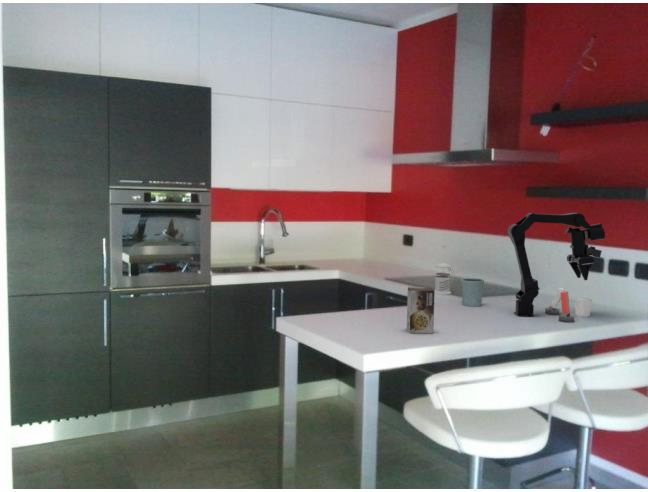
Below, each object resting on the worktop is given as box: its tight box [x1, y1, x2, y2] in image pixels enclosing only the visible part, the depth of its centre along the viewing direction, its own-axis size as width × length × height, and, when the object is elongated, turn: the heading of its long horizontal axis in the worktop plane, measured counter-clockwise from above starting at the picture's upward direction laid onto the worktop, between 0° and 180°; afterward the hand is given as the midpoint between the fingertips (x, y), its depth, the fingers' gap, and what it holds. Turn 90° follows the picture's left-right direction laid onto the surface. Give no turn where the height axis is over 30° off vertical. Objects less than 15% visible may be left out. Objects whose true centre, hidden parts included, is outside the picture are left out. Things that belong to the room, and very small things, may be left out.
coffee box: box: [406, 286, 435, 334], centre depth 222 cm, size 9×6×16 cm
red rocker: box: [560, 291, 571, 315], centre depth 248 cm, size 2×5×10 cm, turn 144°
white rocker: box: [550, 287, 566, 309], centre depth 261 cm, size 2×5×10 cm, turn 144°
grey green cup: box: [460, 277, 485, 308], centre depth 278 cm, size 10×10×12 cm
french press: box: [433, 244, 455, 295], centre depth 312 cm, size 10×12×25 cm
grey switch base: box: [544, 305, 561, 316], centre depth 262 cm, size 6×6×4 cm
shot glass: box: [574, 297, 593, 317], centre depth 261 cm, size 7×7×7 cm
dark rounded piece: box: [557, 312, 575, 323], centre depth 248 cm, size 6×6×4 cm
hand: (582, 279), depth 254 cm, fingers open, 9 cm apart
